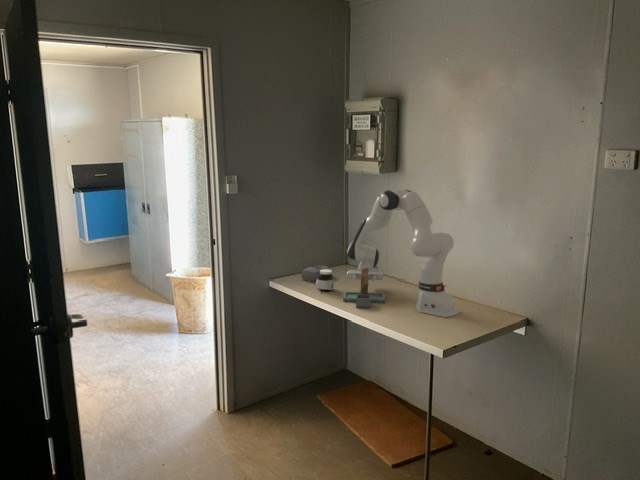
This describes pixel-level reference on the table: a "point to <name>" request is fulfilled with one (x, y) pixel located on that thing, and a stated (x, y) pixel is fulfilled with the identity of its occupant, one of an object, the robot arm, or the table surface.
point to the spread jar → (325, 280)
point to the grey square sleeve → (363, 301)
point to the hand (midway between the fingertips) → (364, 278)
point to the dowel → (364, 281)
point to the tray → (374, 296)
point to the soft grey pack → (312, 273)
